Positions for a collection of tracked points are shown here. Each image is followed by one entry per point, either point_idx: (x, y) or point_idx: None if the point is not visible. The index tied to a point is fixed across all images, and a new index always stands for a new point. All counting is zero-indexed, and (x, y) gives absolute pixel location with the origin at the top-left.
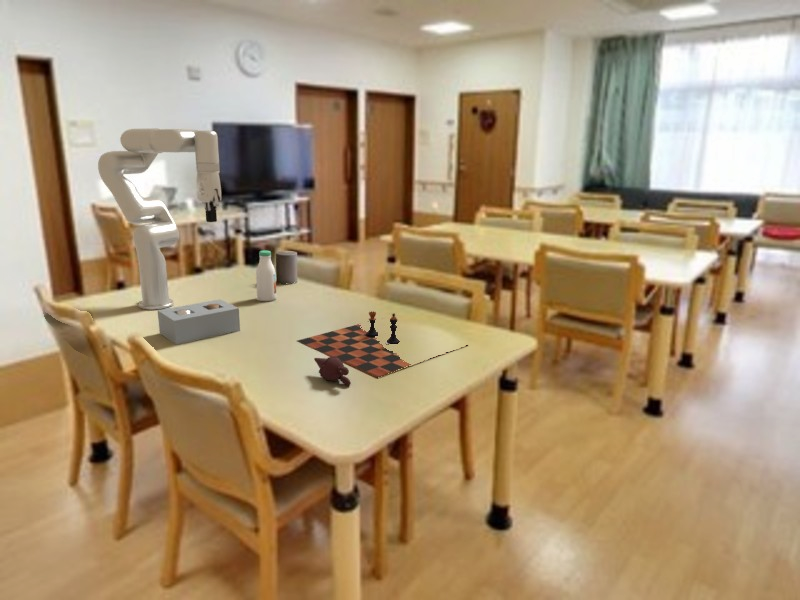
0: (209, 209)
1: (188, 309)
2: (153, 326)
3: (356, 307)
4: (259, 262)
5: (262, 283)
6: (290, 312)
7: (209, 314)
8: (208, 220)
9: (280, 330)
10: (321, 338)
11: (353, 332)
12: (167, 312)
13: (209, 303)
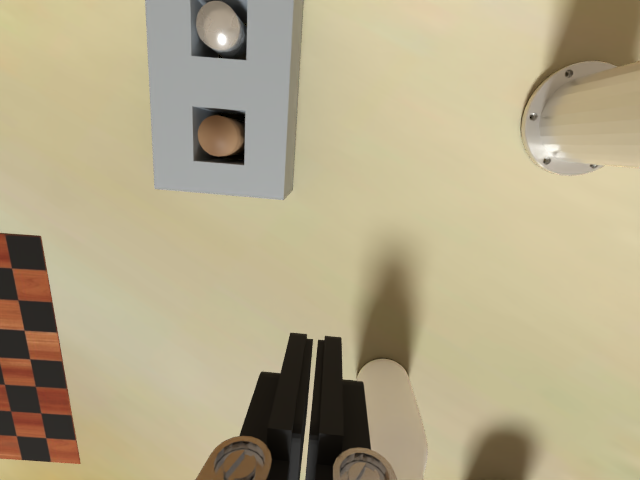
0: (208, 458)
1: (220, 45)
2: (378, 10)
3: (176, 470)
4: (408, 458)
5: (373, 396)
6: (239, 352)
7: (150, 84)
8: (289, 343)
9: (128, 254)
10: (24, 285)
11: (23, 355)
12: None
13: (261, 148)
